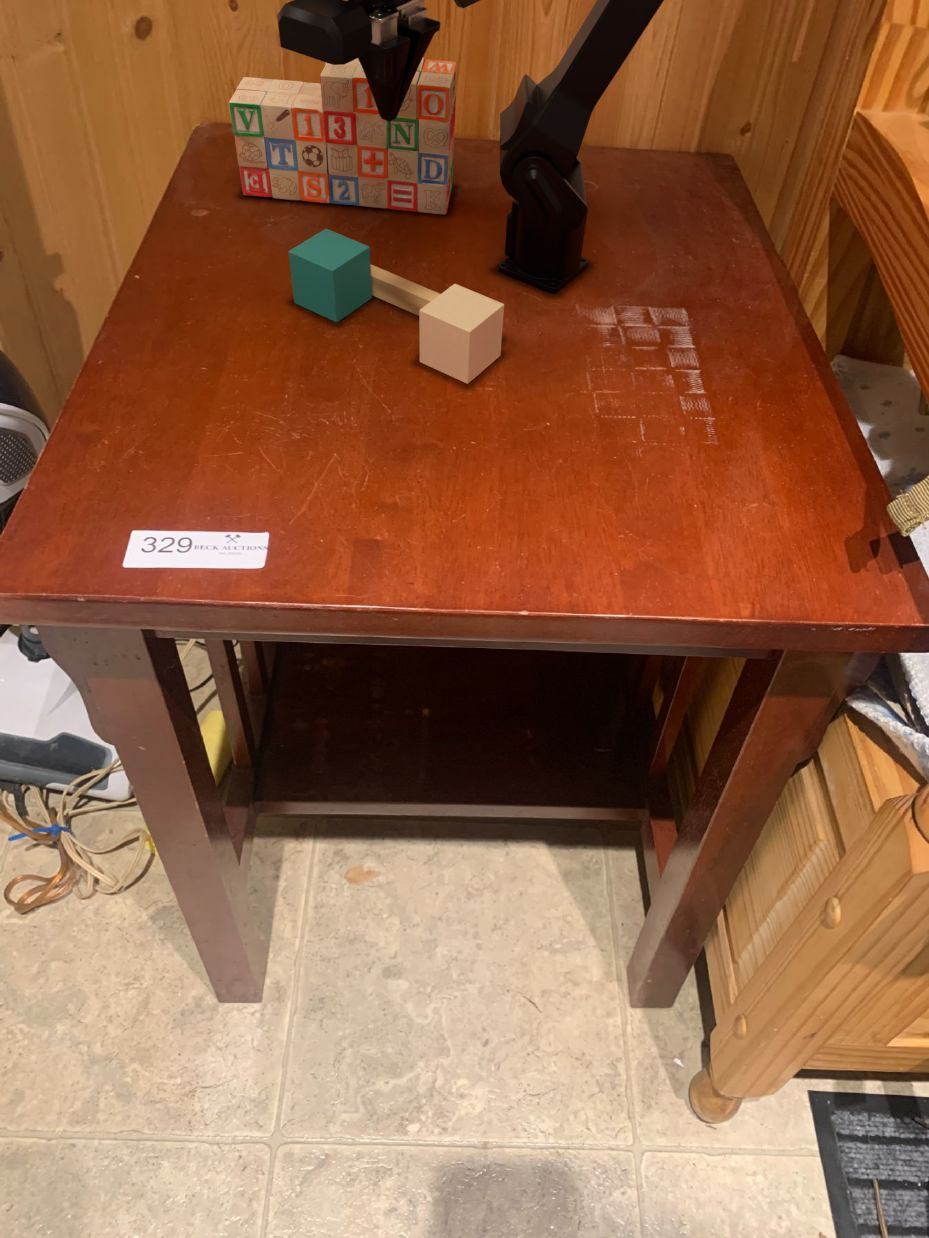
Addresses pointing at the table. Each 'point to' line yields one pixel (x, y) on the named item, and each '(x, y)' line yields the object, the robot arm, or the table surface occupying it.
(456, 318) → the cream block
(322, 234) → the teal block
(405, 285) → the rail
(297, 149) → the stack of blocks
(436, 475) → the table surface
